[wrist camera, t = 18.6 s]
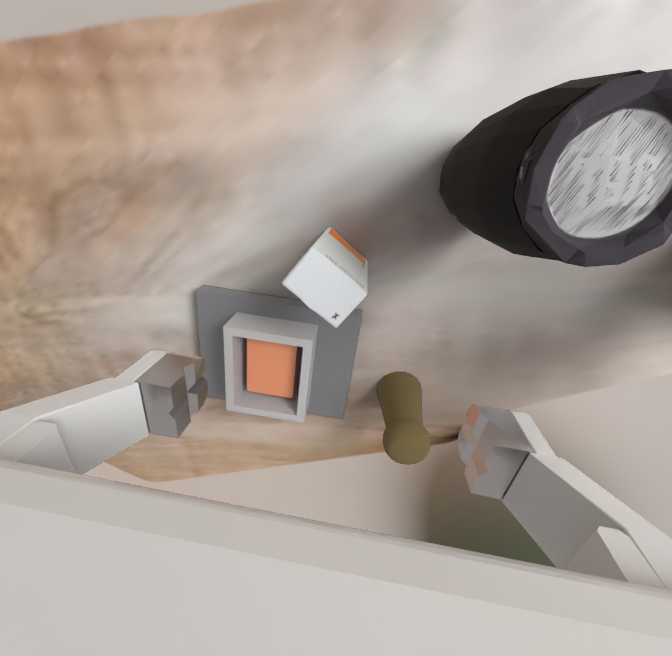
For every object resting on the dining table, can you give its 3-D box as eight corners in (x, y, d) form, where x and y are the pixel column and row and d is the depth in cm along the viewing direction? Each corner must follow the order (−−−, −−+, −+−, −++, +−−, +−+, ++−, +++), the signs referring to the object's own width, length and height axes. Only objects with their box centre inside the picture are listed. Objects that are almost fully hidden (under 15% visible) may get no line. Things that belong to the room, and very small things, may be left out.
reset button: (300, 337, 38) (297, 345, 36) (295, 388, 42) (292, 398, 40) (252, 329, 38) (247, 337, 37) (252, 381, 42) (247, 390, 40)
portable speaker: (520, 105, 28) (776, -10, 11) (528, 210, 32) (728, 254, 14) (425, 142, 30) (508, 95, 12) (443, 237, 34) (526, 304, 16)
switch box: (362, 309, 38) (361, 331, 33) (343, 409, 45) (340, 440, 40) (203, 284, 39) (176, 302, 33) (210, 387, 46) (189, 415, 40)
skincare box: (369, 259, 35) (370, 296, 25) (345, 286, 37) (336, 331, 26) (328, 223, 34) (311, 245, 23) (305, 252, 36) (278, 285, 25)
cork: (395, 413, 45) (403, 480, 35) (367, 387, 43) (367, 450, 33) (430, 392, 43) (449, 457, 33) (402, 363, 41) (413, 423, 31)
